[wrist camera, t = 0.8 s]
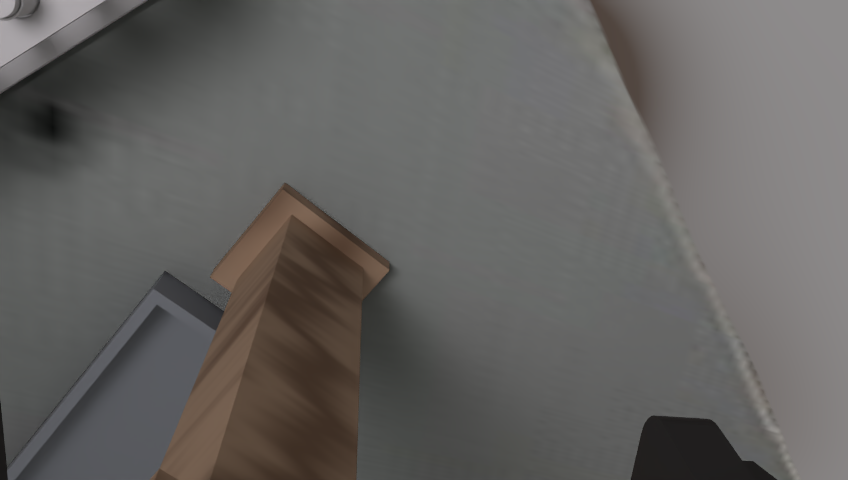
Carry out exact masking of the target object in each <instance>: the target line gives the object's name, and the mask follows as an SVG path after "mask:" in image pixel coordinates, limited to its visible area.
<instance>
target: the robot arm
mask: <svg viewBox="0 0 848 480" xmlns="http://www.w3.org/2000/svg"><path fill="white" fill-rule="evenodd" d="M0 480H8V475H7V465H6V454H5V444H4V434H3V423H2V413H1V403H0ZM631 480H777V479H775V478H774V477H773V476H772V475H770V474H769V473H768V472H766V471H765V470H764V469H762V468H761V467H760V466H759V465H757V464H756V463H755V462H753V461H742V460H741V458H740V457H739V456H738V454H737V453H736V451H735V450H734V448H733V447H732V446H731V444H730V443H729V441H728V440H727V439H726V437H725V436H724V434H723V433H722V431H721V430H720V429H719V427H718V426H717V425H716V423H715V422H713V421H712V420H710V419H700V418H684V417H668V416H651V417H649V418H648V419H647V421H646V423H645V424H644V427H643V430H642V433H641V438H640V442H639V446H638V451H637V455H636V459H635V463H634V468H633V472H632V476H631Z"/></svg>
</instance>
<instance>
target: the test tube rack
mask: <svg viewBox="0 0 848 480" xmlns="http://www.w3.org/2000/svg"><path fill="white" fill-rule="evenodd" d="M146 1H148V0H0V94H1V93H2V92H4V91H6V90H7V89H9V88H10V87H12V86H13V85H15V84H17V83H18V82H20V81H21V80H23V79H25V78H26V77H28V76H29V75H31V74H32V73H34V72H36V71H37V70H39V69H40V68H42V67H44V66H45V65H47V64H48V63H50V62H51V61H53V60H55V59H56V58H58V57H59V56H61V55H63V54H64V53H66V52H67V51H69V50H70V49H72V48H74V47H75V46H77V45H78V44H80V43H82V42H83V41H85V40H86V39H88V38H89V37H91V36H93V35H94V34H96V33H97V32H99V31H101V30H102V29H104V28H105V27H107V26H108V25H110V24H112V23H113V22H115V21H116V20H118V19H120V18H121V17H123V16H124V15H126V14H127V13H129V12H131V11H132V10H134V9H135V8H137V7H139V6H140V5H142V4H143V3H145V2H146Z"/></svg>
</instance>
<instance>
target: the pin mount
mask: <svg viewBox="0 0 848 480" xmlns="http://www.w3.org/2000/svg"><path fill="white" fill-rule="evenodd" d="M389 270H390V269H389V261H387V260H386V259H385V258H383V257H382V256H381V255H379V254H378V253H377V252H375V251H374V250H373V249H371V248H370V247H369V246H368V245H366V244H365V243H364V242H362V241H361V240H360V239H358V238H357V237H356V236H354V235H353V234H352V233H351V232H349V231H348V230H347V229H345V228H344V227H343V226H341V225H340V224H339V223H337V222H336V221H335V220H333V219H332V218H331V217H330V216H328V215H327V214H326V213H324V212H323V211H322V210H320V209H319V208H318V207H316V206H315V205H314V204H312V203H311V202H310V201H309V200H307V199H306V198H305V197H303V196H302V195H301V194H299V193H298V192H297V191H295V190H294V189H293V188H291V187H290V186H289V185H288V184H286V183H284V185H283V186H282V187H281V188H280V189H279V191H278V192H277V193H276V194H275V195H274V197H273V198H272V199H271V200H270V202H269V203H268V204H267V205H266V206H265V208H264V209H263V210H262V211H261V212H260V214H259V215H258V216H257V217H256V219H255V220H254V221H253V222H252V223H251V225H250V226H249V227H248V228H247V230H246V231H245V232H244V233H243V234H242V236H241V237H240V238H239V239H238V240H237V242H236V243H235V244H234V245H233V247H232V248H231V249H230V250H229V251H228V253H227V254H226V255H225V256H224V258H223V259H222V260H221V261H220V262H219V264H218V265H217V266H216V267H215V268H214V270H213V272H212V274H211V276H210V278H212V279H213V280H215V281H216V282H217V283H219V284H220V285H222V286H223V287H225V288H226V289H227V290H229V291H230V292H232V294H231V296H230V299H229V301H228V303H227V306H226V308H225V311H224V313H223V316H222V318H221V320H220V323H219V325H218V328H217V330H216V333H215V335H214V337H213V340H212V342H211V345H210V347H209V350H208V352H207V354H206V357H205V359H204V362H203V364H202V367H201V369H200V371H199V374H198V376H197V379H196V381H195V384H194V386H193V388H192V391H191V393H190V396H189V398H188V401H187V403H186V405H185V408H184V410H183V413H182V415H181V418H180V420H179V423H178V425H177V427H176V430H175V432H174V435H173V437H172V440H171V442H170V444H169V447H168V449H167V452H166V454H165V457H164V459H163V461H162V464H161V466H160V468H159V469H158V471H157V472H156V473H155V474H154V475H153V476H152V477H151V479H150V480H356V473H357V441H358V410H359V378H360V347H361V316H362V300H363V299H364V298H365V297H366V296H367V295H368V294H369V293H370V292H371V290H372V289H373V288H374V287H375V286H376V285H377V284H378V283H379V281H380V280H381V279H382V278H383V277H384V276H385V275H386V274H387V273H388V271H389Z"/></svg>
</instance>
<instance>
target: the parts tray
mask: <svg viewBox="0 0 848 480" xmlns="http://www.w3.org/2000/svg"><path fill="white" fill-rule="evenodd" d="M223 313H224V311H222V310H221V309H219V308H218V307H217V306H215V305H214V304H212V303H211V302H209V301H208V300H206V299H205V298H203V297H202V296H201V295H199V294H198V293H196V292H195V291H193V290H192V289H190V288H189V287H187V286H186V285H185V284H183V283H182V282H180V281H179V280H177V279H176V278H174V277H173V276H172V275H170V274H169V273H167V272H166V271H165V272H164V273H163V274H162V275H161V277H160V278H159V279H158V280H157V282H156V283H155V284H154V285H153V287H152V288H151V289H150V290H149V292H148V293H147V294H146V295H145V297H144V298H143V299H142V300H141V302H140V303H139V304H138V305H137V307H136V308H135V309H134V310H133V312H132V313H131V314H130V315H129V317H128V318H127V319H126V320H125V322H124V323H123V324H122V325H121V326H120V328H119V329H118V330H117V331H116V333H115V334H114V335H113V336H112V338H111V339H110V340H109V341H108V343H107V344H106V345H105V346H104V348H103V349H102V350H101V351H100V353H99V354H98V355H97V356H96V358H95V359H94V360H93V361H92V363H91V364H90V365H89V366H88V368H87V369H86V370H85V371H84V373H83V374H82V375H81V376H80V378H79V379H78V380H77V381H76V383H75V384H74V385H73V386H72V388H71V389H70V390H69V391H68V393H67V394H66V395H65V396H64V398H63V399H62V400H61V401H60V403H59V404H58V405H57V406H56V407H55V409H54V410H53V411H52V412H51V414H50V415H49V416H48V417H47V419H46V420H45V421H44V422H43V424H42V425H41V426H40V427H39V429H38V430H37V431H36V432H35V434H34V435H33V436H32V437H31V439H30V440H29V441H28V442H27V444H26V445H25V446H24V447H23V449H22V450H21V451H20V452H19V454H18V455H17V456H16V457H15V459H14V460H13V461H12V462H11V464H10V465H9V466H8V467H7V475H8V480H150V479H151V477H152V476H153V475H154V474H155V473H156V472H157V471H158V469H159V468H160V466H161V464H162V461H163V459H164V457H165V454H166V452H167V449H168V447H169V444H170V442H171V440H172V437H173V435H174V432H175V430H176V427H177V425H178V423H179V420H180V418H181V415H182V413H183V410H184V408H185V405H186V403H187V401H188V398H189V396H190V393H191V391H192V388H193V386H194V384H195V381H196V379H197V376H198V374H199V371H200V369H201V367H202V364H203V362H204V359H205V357H206V354H207V352H208V350H209V347H210V345H211V342H212V340H213V337H214V335H215V333H216V330H217V328H218V325H219V323H220V320H221V318H222V316H223Z"/></svg>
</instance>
